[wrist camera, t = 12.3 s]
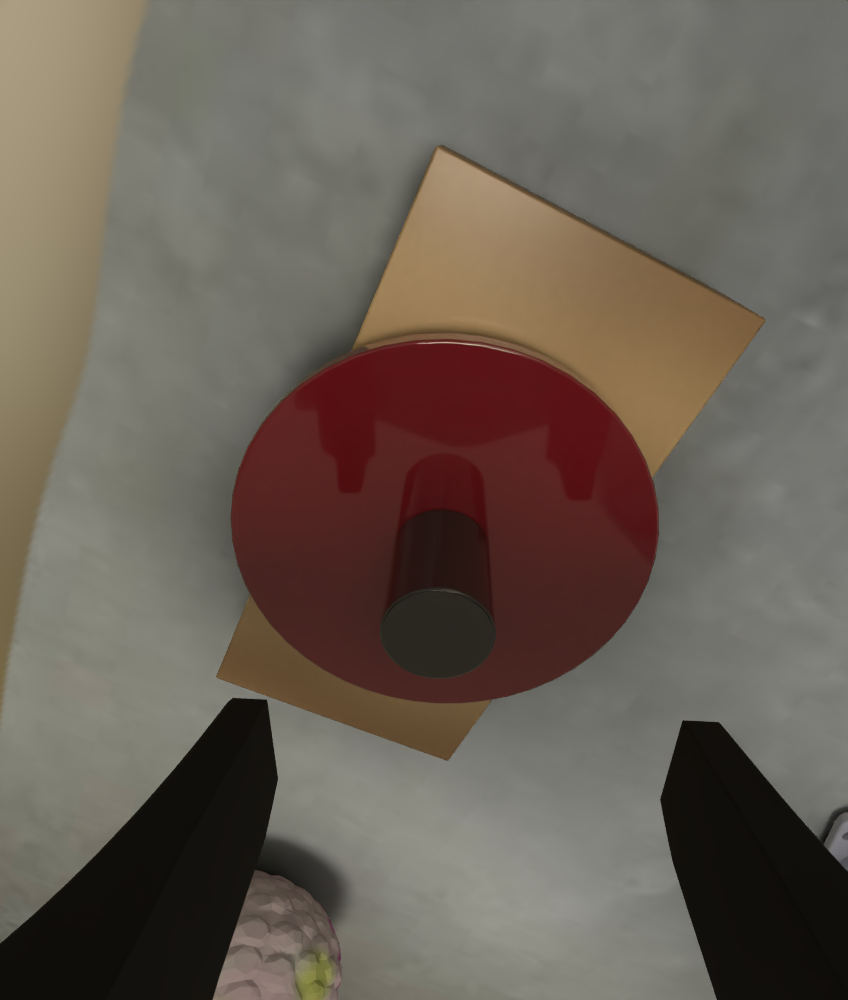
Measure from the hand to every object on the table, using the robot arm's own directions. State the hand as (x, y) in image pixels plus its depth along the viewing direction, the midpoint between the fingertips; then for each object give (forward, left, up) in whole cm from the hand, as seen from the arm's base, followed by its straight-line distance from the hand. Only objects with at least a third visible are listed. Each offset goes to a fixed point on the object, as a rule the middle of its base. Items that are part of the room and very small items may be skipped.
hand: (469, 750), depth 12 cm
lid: (+1, +1, -6) cm, 6 cm away
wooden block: (0, +1, -10) cm, 10 cm away
